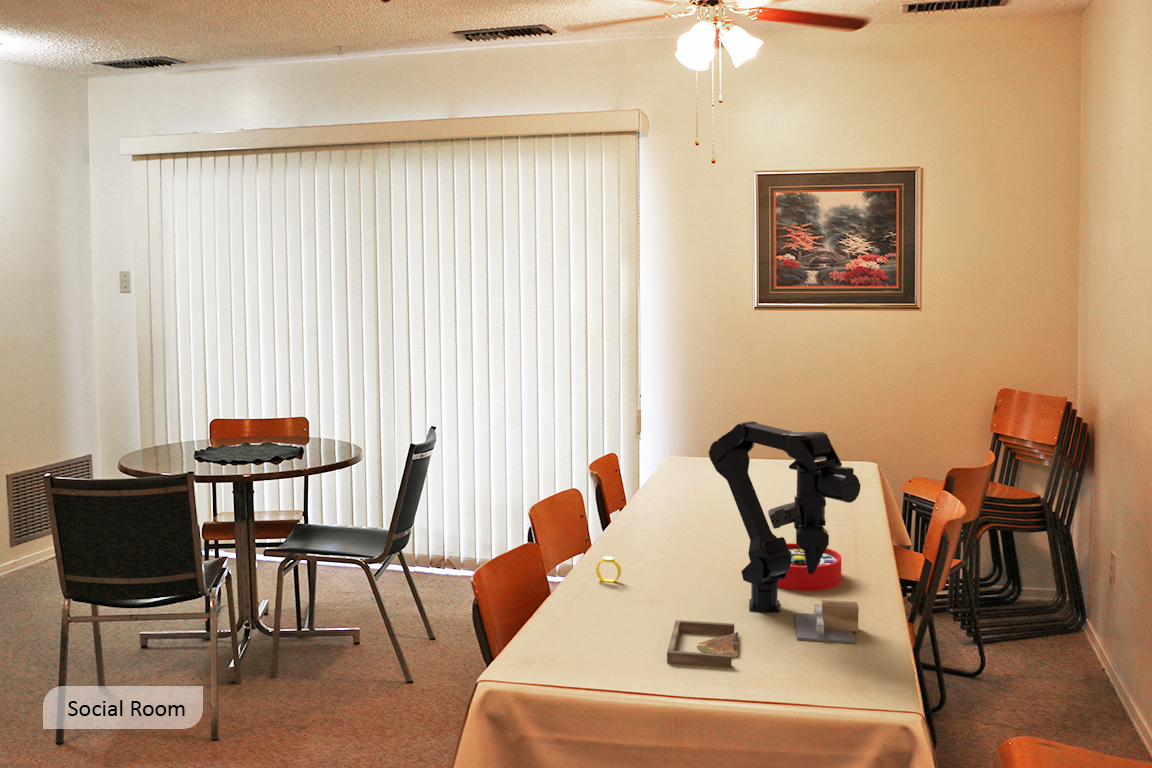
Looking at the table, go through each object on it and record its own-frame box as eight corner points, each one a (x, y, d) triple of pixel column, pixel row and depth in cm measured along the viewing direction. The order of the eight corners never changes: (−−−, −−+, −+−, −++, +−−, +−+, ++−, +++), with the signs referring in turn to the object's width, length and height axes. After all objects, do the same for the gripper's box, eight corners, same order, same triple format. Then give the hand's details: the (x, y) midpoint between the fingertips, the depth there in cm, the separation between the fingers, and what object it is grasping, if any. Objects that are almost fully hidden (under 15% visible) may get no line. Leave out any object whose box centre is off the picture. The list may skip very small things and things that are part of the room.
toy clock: (788, 538, 233) (857, 555, 218) (788, 560, 233) (857, 578, 218) (739, 554, 219) (810, 572, 205) (739, 577, 220) (809, 597, 205)
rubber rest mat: (795, 615, 194) (795, 612, 194) (848, 618, 191) (848, 615, 191) (797, 639, 180) (797, 637, 180) (854, 643, 178) (854, 641, 178)
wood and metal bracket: (814, 615, 192) (814, 592, 191) (854, 617, 190) (854, 594, 190) (817, 636, 180) (817, 612, 180) (860, 639, 179) (860, 615, 178)
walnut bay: (675, 629, 187) (675, 620, 186) (734, 633, 184) (734, 623, 184) (667, 662, 170) (666, 652, 170) (731, 667, 168) (731, 656, 167)
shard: (737, 638, 182) (737, 630, 182) (763, 651, 176) (763, 642, 176) (695, 650, 177) (695, 641, 177) (720, 664, 170) (720, 654, 170)
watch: (621, 582, 218) (622, 558, 218) (617, 585, 216) (619, 561, 215) (598, 577, 221) (599, 554, 220) (594, 581, 218) (595, 557, 217)
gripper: (770, 482, 196) (769, 551, 198) (771, 502, 178) (770, 579, 180) (823, 483, 194) (821, 554, 195) (829, 504, 176) (828, 582, 177)
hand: (809, 566), depth 187 cm, fingers open, 9 cm apart
